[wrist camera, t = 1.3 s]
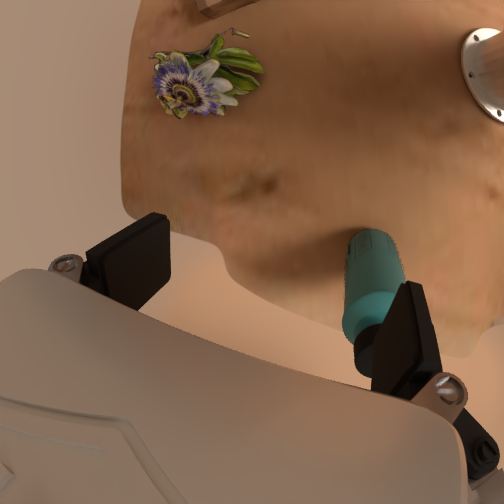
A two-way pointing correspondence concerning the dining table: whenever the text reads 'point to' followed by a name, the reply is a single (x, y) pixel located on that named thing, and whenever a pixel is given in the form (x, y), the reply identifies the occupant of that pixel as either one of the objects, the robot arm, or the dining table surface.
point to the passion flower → (204, 78)
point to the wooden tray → (220, 6)
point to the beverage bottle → (369, 291)
